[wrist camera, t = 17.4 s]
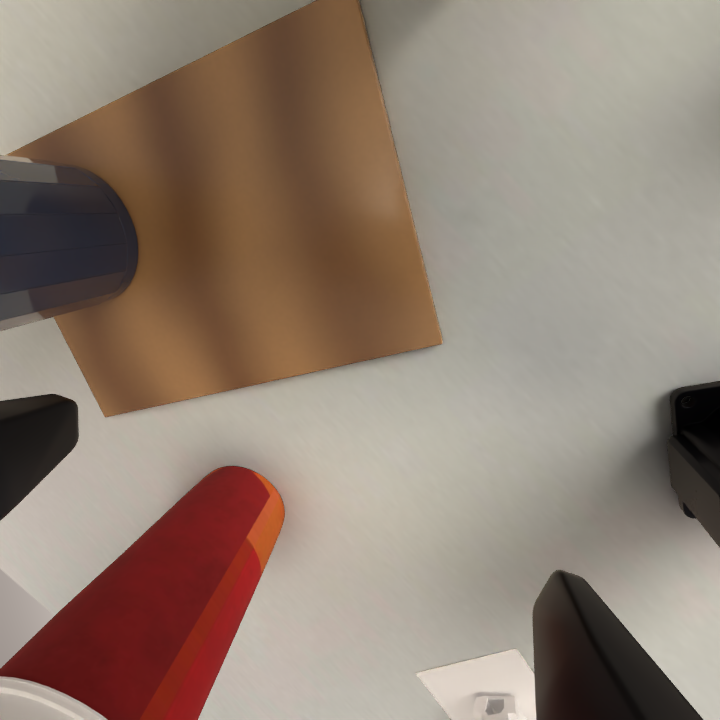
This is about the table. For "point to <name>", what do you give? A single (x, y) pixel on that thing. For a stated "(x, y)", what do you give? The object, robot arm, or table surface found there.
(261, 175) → the wooden board
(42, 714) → the paper cup
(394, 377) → the table surface
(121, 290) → the tumbler
